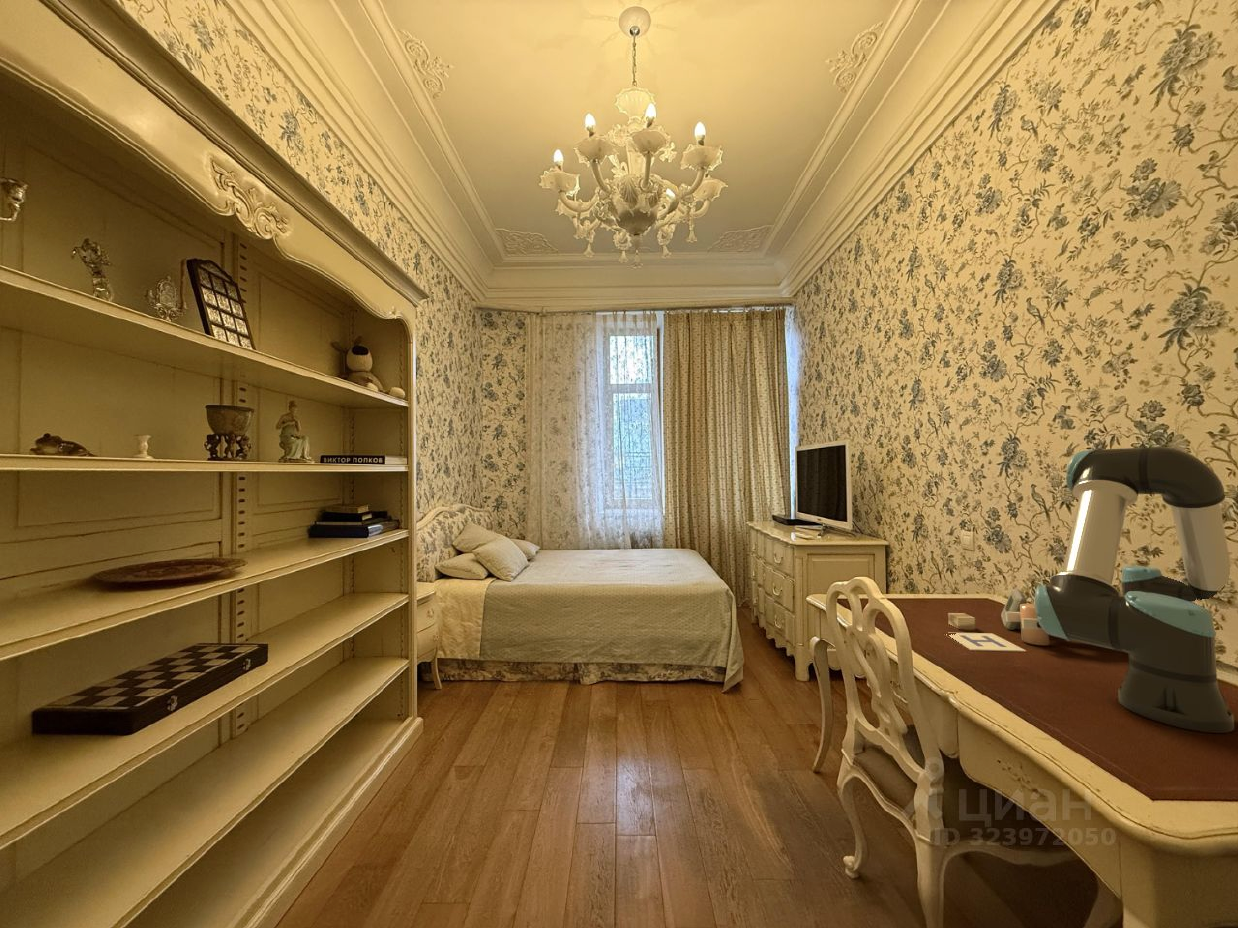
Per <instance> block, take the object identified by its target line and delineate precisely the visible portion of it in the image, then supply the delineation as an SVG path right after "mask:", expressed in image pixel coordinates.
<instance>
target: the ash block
mask: <svg viewBox="0 0 1238 928" xmlns="http://www.w3.org/2000/svg"><path fill="white" fill-rule="evenodd" d="M947 617H948V625H949V624H950V625H952V626H954V627H956V628H958V629H975V630H976V618H975V617H973V616H972V615H969V614H967V613H965V612H961V613H960V612H959V613H958V612H948V613H947Z"/></svg>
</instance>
